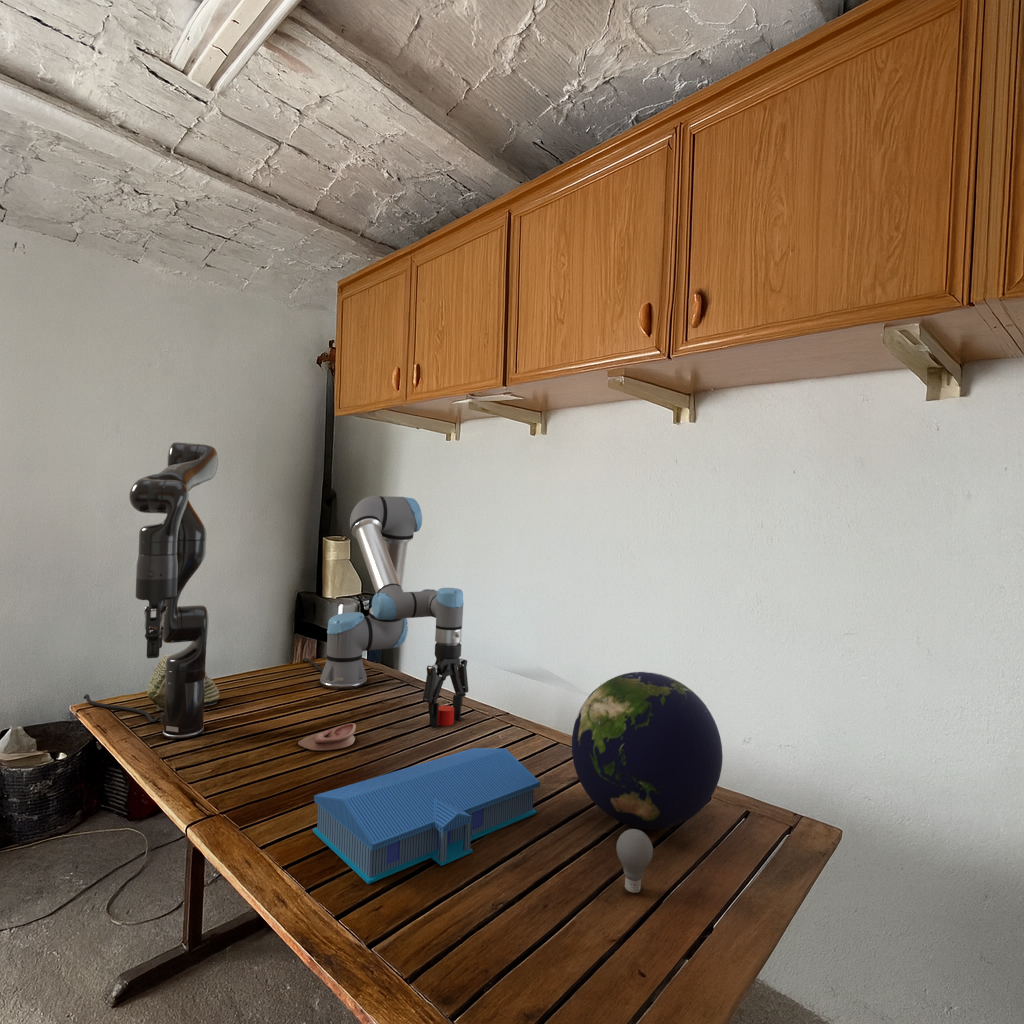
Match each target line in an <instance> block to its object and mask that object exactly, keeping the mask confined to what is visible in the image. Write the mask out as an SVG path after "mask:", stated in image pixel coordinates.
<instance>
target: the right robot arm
mask: <svg viewBox="0 0 1024 1024" xmlns="http://www.w3.org/2000/svg"><path fill="white" fill-rule="evenodd" d="M422 524H423V513H422V509H421V507H420V504H419V503H418V501H417V500H416V499H415V498H413V497H408V496H407V497H406V496H384V495H382V496H380V495H370V496H366V497H364V498H362V499H361V500H360V501H358V502H357V504H355V506H354V508H353V509H352V510H351V513H350V517H349V529H350V532H351V535H352V537H353V538H354V539H355V540H357V543H358V545H359V548H360V551H361V554H362V557H363V560H364V562H365V565H366V568H367V571H368V574H369V577H370V581H371V583H372V586H373V589H374V591H375V594H374V596H373V597H372V600H371V607H370V608H369V611H368V615H366V616H365V615H364V613H363V612H360V611H354V612H353V611H352V612H351V611H350V612H343V613H339V614H335V615H333V616H332V617H330V618H329V620H328V623H327V630H326V633H327V639H326V659H325V660H326V661H325V664H324V666H323V668H322V667H320V666H319V665H318V664H317V663H316V662H314V661H313V660H311V659H310V658H308V657H305V658H303V659H302V660H301V662H302V663H304V662H308V663H310V664H311V665H312V666H314V667H315V668H316V669H317V670H319V671H320V672H321V675H320V678H319V685H320V686H321V687H323V688H325V689H329V690H339V691H340V690H341V691H343V690H344V691H345V690H353V689H359V688H361V687H364V686H365V685H366V684H367V680H368V677H367V672H366V668H365V666H364V662H363V652H366V651H368V652H369V651H378V650H390V649H395V648H399V647H400V646H402V645H403V644H404V643H405V641H406V638H407V637H408V630H409V625H408V619H410V618H411V619H415V618H416V619H417V618H428V617H429V618H435V633H434V634H435V636H434V642H436V643H434V657H435V662H434V664H432V665H427V666H426V679H425V684H424V690H423V695H422V702H424V703H428V712H427V713H428V715H429V719H428V720H429V721H428V722H429V723H428V724H429V726H432V727H434V728H438V727H439V725H438V708H439V706H440V704H439V703H438V699H439V696H440V693H441V691H442V687H443V685H444V682H445V681H446V680H447V677H450V681H451V684H452V688H453V690H454V693H455V694H453V695H452V707H454V720H461V718H462V707H463V700H464V698H465V697H466V696H467V694H466V693H469V684H468V683H469V681H468V680H469V679H468V672H467V671H468V670H467V667H468V660H467V659H464V658H460V657H461V656H462V644H461V642H462V638H463V637H462V636H463V619H464V618H463V616H464V603H465V602H464V592H463V590H462V589H461V588H455V587H441V588H439V589H438V590H436V589H430V588H429V589H427V588H425V589H422V590H421V591H403V583H404V577H405V569H406V562H407V561H406V560H407V554H408V545H409V542H410V541H412V540H413V539H414V533H417V532H419V531H420V530H421V528H422V526H423V525H422Z"/></svg>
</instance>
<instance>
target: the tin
mask: <svg viewBox="0 0 1024 1024" xmlns="http://www.w3.org/2000/svg"><path fill="white" fill-rule="evenodd" d="M454 722H455V718H454V707H453V705H448V704H447V705H445V704H444V705H439V708H438V726H443V727H447V726H448V727H449V726H452V725H454Z"/></svg>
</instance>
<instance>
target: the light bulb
mask: <svg viewBox="0 0 1024 1024" xmlns="http://www.w3.org/2000/svg"><path fill="white" fill-rule="evenodd" d="M615 849H616V854H617V857H618V859H619V861H620V863H621V865H622V867H623V873H624V874H623V875H624V876H625V878H624V888H625V890H627V891H628V892H630V893H634V894H635V893H639V892H640V891H641V889H642V887H641V886H642V879H643V877H644V875H645V871H646V868H647V867H648V866H649V864H650V863H651V861H652V859H653V855H654V847H653V843H652V841H651V838H649V836H648V835H647V834H646V833H645V832H643V831H642V830H641V829H638V828H629V829H627V830H625V831H623V832H622V833H621V834H620V835H619V837H618V839H617V841H616V847H615Z"/></svg>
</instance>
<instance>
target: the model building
mask: <svg viewBox="0 0 1024 1024" xmlns="http://www.w3.org/2000/svg"><path fill="white" fill-rule="evenodd" d="M540 787H541V781H540V780H539V779H538V778H537V777H536V776H535V775H534V774H532V772H530V770H529V769H528V768H526V767H525V766H524V764H523V763H522V762H520V760H519V759H518V758H516V757H515V756H514V755H513V754H512V753H511V752H510V751H509V750H508V749H507V748H503V747H502V748H498V747H497V748H496V747H495V748H494V747H493V748H491V747H472V748H470V749H466V750H463V751H460V752H455V753H452V754H450V755H446V756H442V757H439V758H436V759H432V760H429V761H426V762H423V763H419V764H416V765H412V766H409V767H406V768H402V769H399V770H396V771H395V770H394V771H392V772H389V773H386V774H382V775H379V776H376V777H372V778H369V779H365V780H361V781H359V782H355V783H352V784H348V785H345V786H342V787H338V788H336V789H332V790H328V791H324V792H321V793H318V794H315V795H313V802H315V803H316V804H317V825H316V826H317V827H315V828H312V833H313V834H314V835H315V836H317V838H318V839H320V841H322V842H323V844H325V845H326V846H327V847H328V848H329V849H330V850H331V851H332V852H334V853H335V854H336V855H337V856H338V857H339V858H340V859H341V860H342V861H343V862H344V863H345V864H346V865H347V866H348V867H349V868H350V869H352V871H353V872H354V873H355V874H357V875H358V876H359V878H361V879H362V880H363V881H364V882H365V883H366V884H367V885H371V884H373V883H374V882H375V883H376V882H377V881H379V880H381V879H385V878H386V877H389V876H391V875H394V874H396V873H398V872H401V871H403V870H406V869H408V868H411V867H413V866H415V865H418V864H419V863H422V862H425V861H427V860H429V859H432V860H433V861H434V862H435V863H436V864H437V865H439V866H440V867H442V866H445V865H447V864H450V863H452V862H454V861H456V860H459V859H461V858H463V857H465V856H468V855H470V854H472V853H473V852H474V849H473V848H471V844H472V843H471V842H472V841H475V840H477V839H480V838H481V837H484V836H486V835H488V834H492V833H493V832H496V831H497V830H501V829H503V828H505V827H507V826H510V825H513V824H515V823H517V822H520V821H522V820H524V819H526V818H529V817H532V816H534V815H537V813H538V812H537V810H536V809H534V795H535V793H534V791H535V789H538V788H540Z"/></svg>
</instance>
